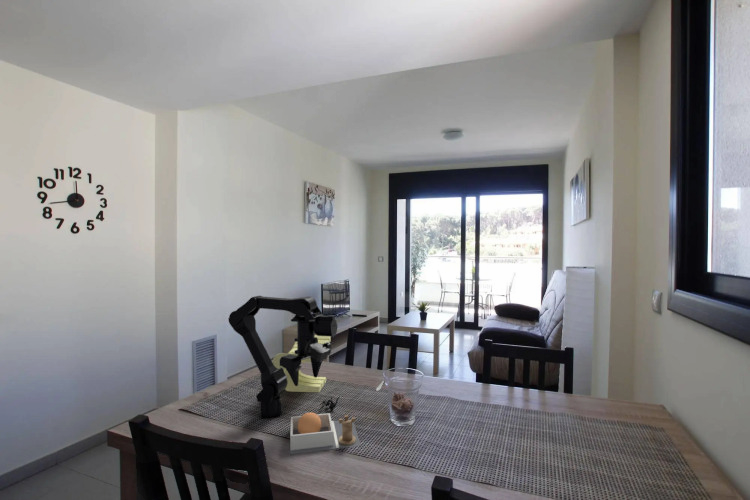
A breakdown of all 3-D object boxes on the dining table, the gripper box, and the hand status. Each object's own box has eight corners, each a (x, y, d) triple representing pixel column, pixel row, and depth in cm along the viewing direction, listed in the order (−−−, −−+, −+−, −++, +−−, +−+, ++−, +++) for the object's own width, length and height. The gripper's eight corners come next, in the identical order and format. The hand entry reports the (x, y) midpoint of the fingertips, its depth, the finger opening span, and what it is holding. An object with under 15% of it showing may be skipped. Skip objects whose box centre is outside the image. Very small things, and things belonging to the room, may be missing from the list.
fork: (370, 393, 147) (370, 389, 147) (387, 374, 170) (387, 370, 170) (378, 394, 146) (378, 390, 146) (394, 374, 169) (394, 370, 169)
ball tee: (339, 446, 106) (339, 423, 106) (338, 437, 111) (337, 415, 111) (357, 444, 107) (356, 421, 107) (354, 435, 112) (354, 414, 112)
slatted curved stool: (296, 373, 171) (296, 334, 171) (330, 374, 169) (330, 335, 169) (272, 399, 141) (272, 352, 141) (313, 401, 140) (313, 353, 139)
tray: (290, 450, 104) (290, 436, 104) (291, 429, 116) (290, 416, 116) (333, 445, 107) (333, 431, 107) (329, 425, 119) (329, 413, 119)
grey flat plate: (289, 456, 102) (289, 453, 102) (290, 427, 119) (290, 425, 119) (361, 447, 107) (361, 445, 107) (352, 420, 123) (352, 418, 123)
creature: (312, 413, 132) (326, 415, 126) (310, 397, 132) (324, 399, 127) (329, 406, 137) (343, 407, 132) (327, 391, 138) (341, 392, 133)
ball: (297, 444, 108) (293, 419, 109) (301, 434, 115) (298, 411, 116) (321, 439, 108) (317, 414, 109) (324, 430, 115) (320, 407, 116)
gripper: (303, 344, 112) (304, 395, 112) (342, 332, 127) (342, 377, 127) (278, 339, 118) (278, 388, 118) (317, 328, 133) (318, 371, 133)
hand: (306, 381), depth 124 cm, fingers open, 9 cm apart
